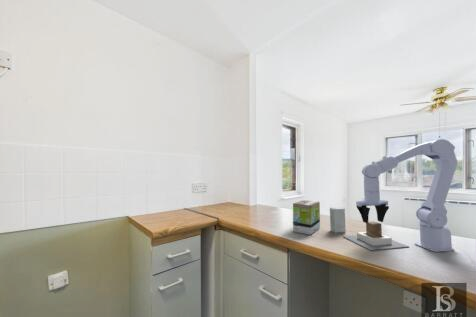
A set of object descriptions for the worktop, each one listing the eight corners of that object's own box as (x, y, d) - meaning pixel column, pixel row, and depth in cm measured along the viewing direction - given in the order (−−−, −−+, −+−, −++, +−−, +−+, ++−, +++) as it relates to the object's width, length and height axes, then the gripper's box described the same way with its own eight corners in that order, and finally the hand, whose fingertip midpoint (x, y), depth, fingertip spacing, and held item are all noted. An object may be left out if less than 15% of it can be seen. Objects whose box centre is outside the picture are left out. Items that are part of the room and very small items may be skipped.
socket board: (376, 234, 98) (375, 228, 98) (409, 247, 83) (408, 240, 83) (343, 237, 95) (343, 230, 95) (370, 250, 80) (370, 243, 80)
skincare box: (340, 229, 106) (340, 206, 107) (346, 232, 102) (345, 208, 102) (329, 230, 106) (329, 207, 106) (334, 233, 101) (334, 208, 102)
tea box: (312, 235, 98) (311, 205, 99) (292, 231, 104) (291, 203, 105) (320, 227, 110) (319, 200, 111) (302, 224, 116) (301, 199, 117)
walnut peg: (374, 239, 91) (373, 221, 91) (382, 242, 87) (381, 223, 87) (366, 239, 90) (365, 221, 91) (374, 243, 86) (373, 224, 87)
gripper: (378, 189, 95) (379, 218, 94) (350, 190, 93) (352, 220, 92) (391, 191, 88) (393, 222, 87) (362, 192, 86) (364, 224, 85)
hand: (373, 222), depth 89 cm, fingers open, 7 cm apart
